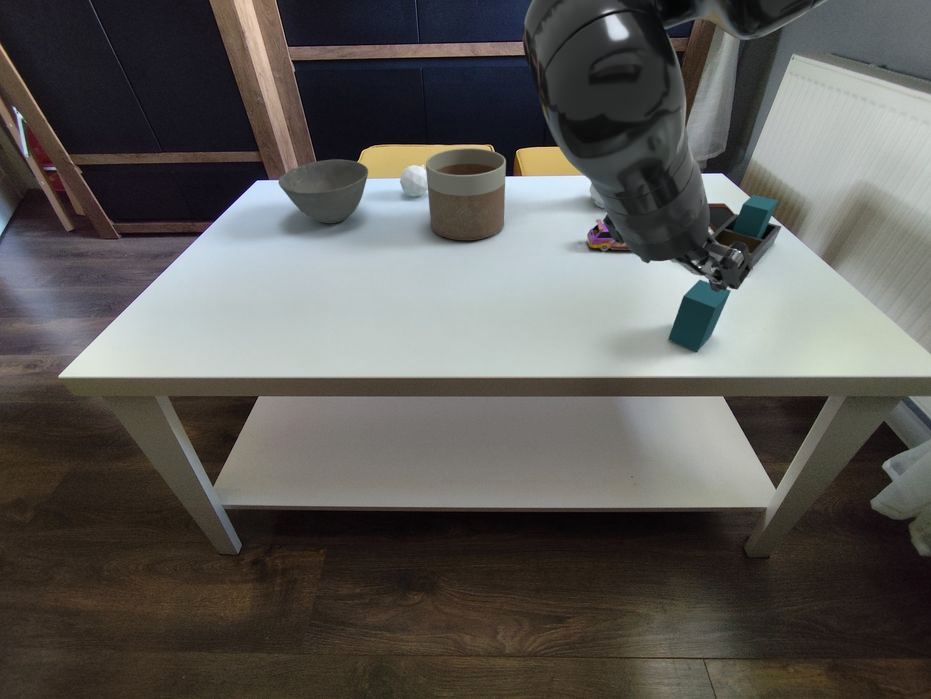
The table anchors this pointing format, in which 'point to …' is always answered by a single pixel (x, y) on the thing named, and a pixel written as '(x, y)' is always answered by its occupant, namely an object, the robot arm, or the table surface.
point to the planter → (466, 193)
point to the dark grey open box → (746, 239)
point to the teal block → (698, 315)
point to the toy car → (603, 238)
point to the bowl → (326, 188)
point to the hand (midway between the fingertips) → (683, 268)
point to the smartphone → (719, 215)
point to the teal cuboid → (755, 216)
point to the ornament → (414, 180)
